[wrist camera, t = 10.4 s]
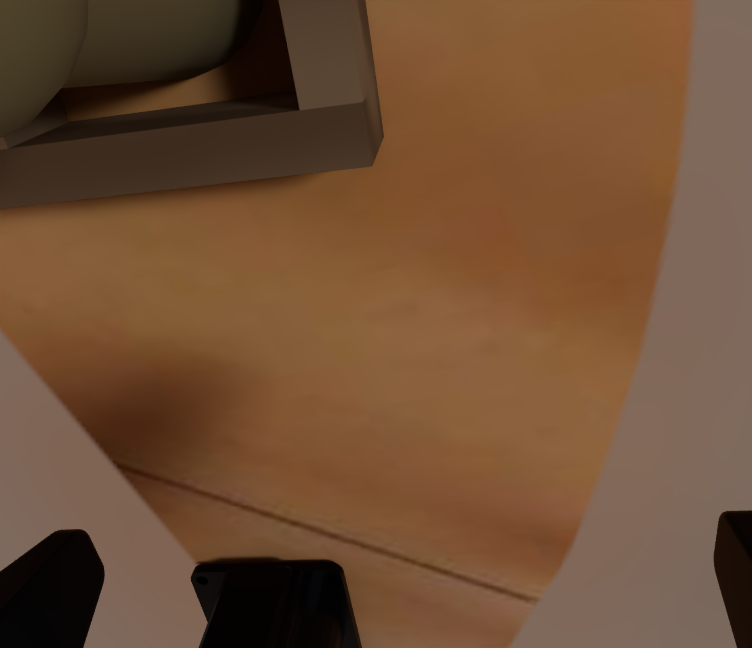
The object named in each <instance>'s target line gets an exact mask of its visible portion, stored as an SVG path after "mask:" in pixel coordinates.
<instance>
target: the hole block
mask: <svg viewBox="0 0 752 648" xmlns="http://www.w3.org/2000/svg"><path fill="white" fill-rule="evenodd" d="M279 5H280V10H281V16H282V21H283V26H284V31H285V36H286V41H287V47H288V52H289V57H290V62H291V67H292V73H293V78H294V83H295V88H296V91H293V92H286V93H279V94H271V95H264V96H257V97H249V98H242V99H235V100H227V101H220V102H213V103H205V104H198V105H191V106H183V107H176V108H169V109H161V110H154V111H147V112H139V113H132V114H125V115H117V116H110V117H103V118H95V119H88V120H81V121H73V122H68V120H67V117H66V114H65V111H64V109H63V106H62V103H61V100H60V97H59V95H58V92H57V93H56V95H55V96H54V97H53V98H52V99H51V100H50V101H49V103H48V104H47V105H46V106H45V107H44V108H43V109H42V111H41V112H40V113H39V114H38V115H37V116H36V117H35V118H34V120H33V121H32V122H31V123H30V124H29V125H27V126H24V127H22V128H20V129H18V130H16V131H14V132H11V133H9V134H7V135H5V136H3V137H1V138H0V209H6V208H14V207H23V206H32V205H40V204H49V203H58V202H66V201H75V200H84V199H92V198H101V197H110V196H119V195H127V194H136V193H145V192H153V191H162V190H171V189H179V188H188V187H197V186H205V185H214V184H223V183H231V182H240V181H249V180H257V179H266V178H275V177H283V176H292V175H301V174H309V173H318V172H327V171H335V170H344V169H353V168H361V167H370V166H373V163H374V161H375V158H376V155H377V153H378V150H379V148H380V145H381V142H382V140H383V137H384V134H383V127H382V119H381V112H380V105H379V97H378V90H377V83H376V75H375V68H374V61H373V53H372V46H371V39H370V31H369V24H368V17H367V9H366V2H365V0H279Z"/></svg>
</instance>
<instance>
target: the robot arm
mask: <svg viewBox="0 0 752 648" xmlns="http://www.w3.org/2000/svg"><path fill="white" fill-rule="evenodd" d="M714 567H715V572H716V576H717V580H718V583H719V586H720V590H721V594H722V597H723V601H724V604H725V607H726V611H727V614H728V618H729V621H730V625H731V628H732V632H733V635H734V638H735V642H736V645H737V648H752V511H751V510H750V511H726V512H723V513H722V514H721V515H720V518H719V521H718V528H717V535H716V542H715V550H714ZM329 574H330V575H329ZM104 576H105V574H104V566H103V563H102V561H101V559H100V557H99V555H98V553H97V551H96V549H95V547H94V545H93V543H92V541H91V539H90V537H89V535H88V534H87V533H86V532H85V531H84V530H81V529H72V530H58V531H55V532H54V533H52V534H51V535H49V536H48V537H47V538H45V539H44V540H42V541H41V542H40V543H38V544H37V545H36V546H34V547H33V548H32V549H30V550H29V551H28V552H26V553H25V554H24V555H22V556H21V557H19V558H18V559H17V560H15V561H14V562H13V563H11V564H10V565H9V566H7V567H6V568H4V569H3V570H2V571H0V648H83V647H84V644H85V640H86V637H87V634H88V631H89V628H90V625H91V621H92V618H93V615H94V612H95V609H96V605H97V602H98V599H99V596H100V593H101V589H102V586H103V583H104ZM191 582H192V584H193V587H194V589H195V592H196V594H197V597H198V599H199V602H200V604H201V607H202V609H203V612H204V614H205V617H206V619H207V622H208V624H207V627H206V629H205V632H204V635H203V638H202V640H201V643H200V646H199V648H362V646H361V642H360V637H359V633H358V629H357V625H356V621H355V617H354V612H353V608H352V604H351V600H350V596H349V592H348V587H347V583H346V579H345V575H344V571H343V569H342V567H341V566H340V565H338V564H336V563H332V562H315V563H262V564H209V565H198V566H196V567H195V569H194V571H193V573H192V576H191Z"/></svg>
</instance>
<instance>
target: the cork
mask: <svg viewBox="0 0 752 648" xmlns="http://www.w3.org/2000/svg"><path fill="white" fill-rule="evenodd" d="M263 1H264V0H0V138H1V137H3V136H5V135H7V134H9V133H11V132H14V131H16V130H18V129H20V128H22V127H24V126H27V125H29V124H30V123H31V122H32V121H33V120H34V118H35V117H36V116H37V115H38V114H39V113H40V112H41V111H42V109H43V108H44V107H45V106H46V105H47V104H48V103H49V101H50V100H51V99H52V98H53V97H54V96H55V95H56V93H57V92H58V91H59V90H60V89H61V88H71V87H83V86H96V85H108V84H121V83H133V82H146V81H158V80H171V79H184V78H194V77H196V76H198V75H201V74H203V73H205V72H207V71H210V70H212V69H214V68H216V67H219V66H221V65H223V64H224V63H225V62H226V61H227V60H228V59H229V58H230V57H231V56H232V55H233V54H234V53H235V52H236V51H237V50H238V49H239V48H240V47H241V46H242V45H243V44H244V43H245V42H246V41H247V39H248V37H249V35H250V33H251V31H252V29H253V27H254V24H255V22H256V20H257V18H258V16H259V14H260V12H261V10H262V8H263Z"/></svg>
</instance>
